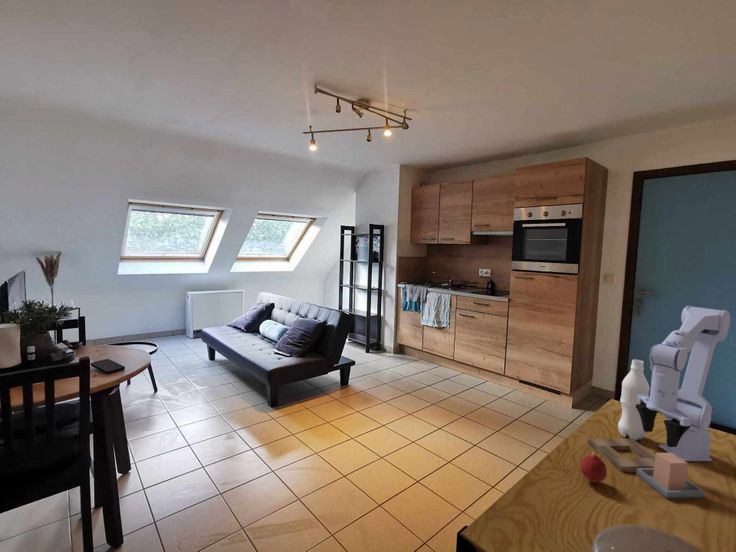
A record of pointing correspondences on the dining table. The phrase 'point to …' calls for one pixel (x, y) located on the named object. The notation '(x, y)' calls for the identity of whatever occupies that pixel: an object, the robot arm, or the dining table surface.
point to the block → (670, 471)
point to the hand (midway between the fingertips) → (659, 438)
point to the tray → (687, 493)
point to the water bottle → (633, 401)
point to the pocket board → (623, 464)
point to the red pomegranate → (593, 468)
